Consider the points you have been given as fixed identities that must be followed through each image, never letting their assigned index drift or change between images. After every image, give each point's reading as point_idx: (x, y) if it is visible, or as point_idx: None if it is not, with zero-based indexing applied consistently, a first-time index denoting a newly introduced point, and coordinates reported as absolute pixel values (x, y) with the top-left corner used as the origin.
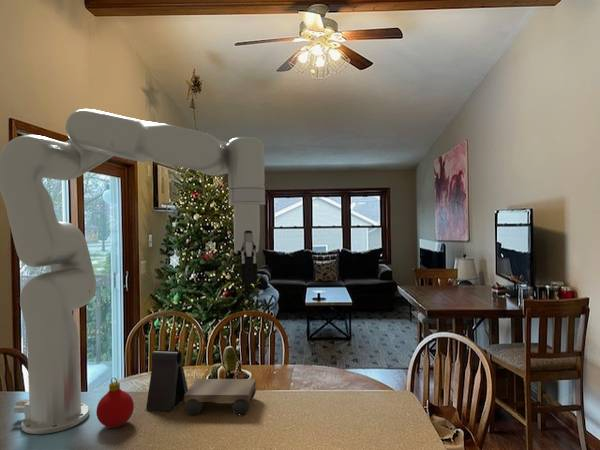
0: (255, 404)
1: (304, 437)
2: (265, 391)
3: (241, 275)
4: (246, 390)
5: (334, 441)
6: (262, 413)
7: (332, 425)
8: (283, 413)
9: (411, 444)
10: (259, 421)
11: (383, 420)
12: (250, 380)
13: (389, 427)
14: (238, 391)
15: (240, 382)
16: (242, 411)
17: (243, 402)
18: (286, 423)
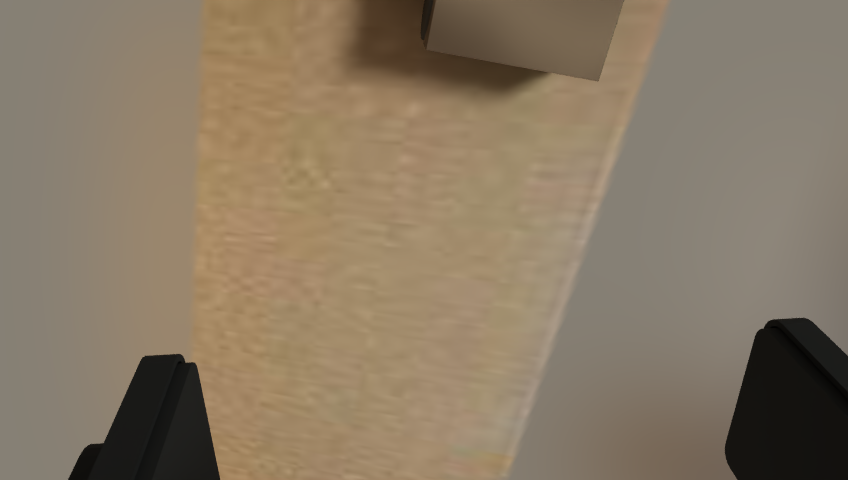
0: None
1: (239, 209)
2: (626, 101)
3: (114, 433)
4: (476, 39)
5: (210, 286)
6: (431, 83)
7: (308, 294)
8: (416, 157)
9: None
10: (368, 70)
11: (322, 419)
12: (588, 58)
13: (280, 424)
14: (474, 2)
15: (577, 10)
16: (425, 7)
17: (427, 19)
18: (339, 162)
